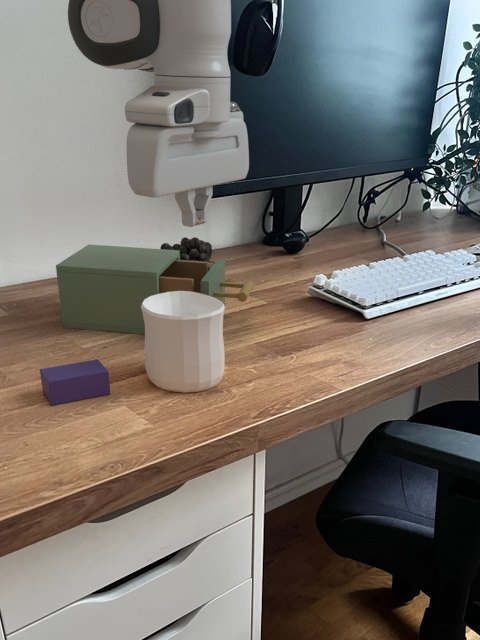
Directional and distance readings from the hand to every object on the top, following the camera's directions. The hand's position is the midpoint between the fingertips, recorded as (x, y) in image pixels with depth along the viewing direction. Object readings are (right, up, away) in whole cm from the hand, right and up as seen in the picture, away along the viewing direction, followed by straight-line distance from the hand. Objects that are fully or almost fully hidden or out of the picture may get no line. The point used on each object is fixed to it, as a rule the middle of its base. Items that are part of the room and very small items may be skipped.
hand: (194, 224), depth 88 cm
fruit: (-6, -1, +31) cm, 32 cm away
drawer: (-2, -9, +15) cm, 18 cm away
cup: (-1, -20, -2) cm, 20 cm away
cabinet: (-12, -9, +17) cm, 23 cm away
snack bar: (-13, -22, -6) cm, 27 cm away
